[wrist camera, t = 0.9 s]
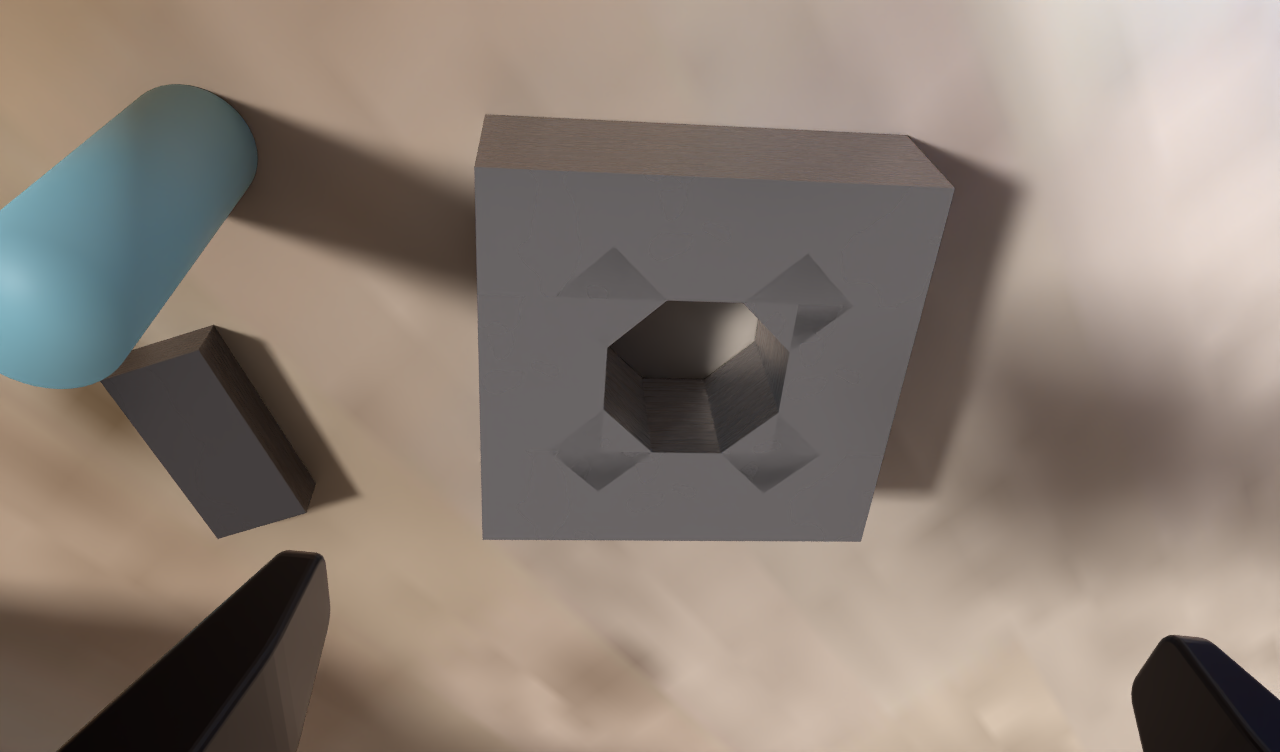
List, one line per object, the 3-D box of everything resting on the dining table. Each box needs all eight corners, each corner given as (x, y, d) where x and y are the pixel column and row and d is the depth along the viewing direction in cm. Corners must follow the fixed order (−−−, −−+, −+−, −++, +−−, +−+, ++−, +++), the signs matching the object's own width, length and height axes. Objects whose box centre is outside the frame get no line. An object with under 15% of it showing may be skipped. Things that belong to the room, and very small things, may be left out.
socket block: (830, 464, 25) (861, 541, 23) (490, 459, 24) (482, 539, 22) (906, 135, 21) (954, 188, 18) (485, 114, 20) (474, 167, 17)
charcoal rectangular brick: (318, 475, 25) (306, 512, 24) (234, 499, 25) (217, 538, 24) (218, 317, 22) (198, 350, 21) (125, 346, 22) (99, 380, 21)
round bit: (266, 208, 20) (149, 390, 15) (139, 203, 20) (-32, 387, 14) (247, 88, 19) (110, 234, 13) (110, 81, 19) (-91, 227, 13)
